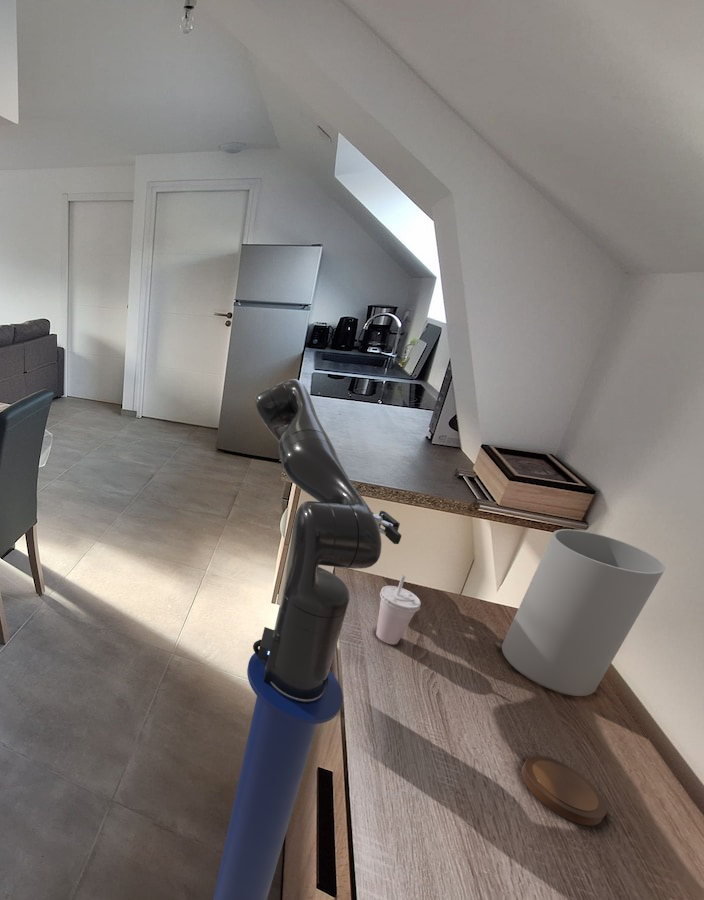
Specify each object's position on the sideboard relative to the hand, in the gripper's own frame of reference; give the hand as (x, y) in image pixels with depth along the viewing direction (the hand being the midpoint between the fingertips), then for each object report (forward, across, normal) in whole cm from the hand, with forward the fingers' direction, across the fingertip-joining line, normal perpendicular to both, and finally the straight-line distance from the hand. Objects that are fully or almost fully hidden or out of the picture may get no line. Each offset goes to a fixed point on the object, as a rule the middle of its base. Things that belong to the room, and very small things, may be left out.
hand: (376, 539), depth 92 cm
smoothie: (+11, 0, -15) cm, 19 cm away
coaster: (+39, -8, -15) cm, 42 cm away
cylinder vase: (+17, -25, -15) cm, 34 cm away
